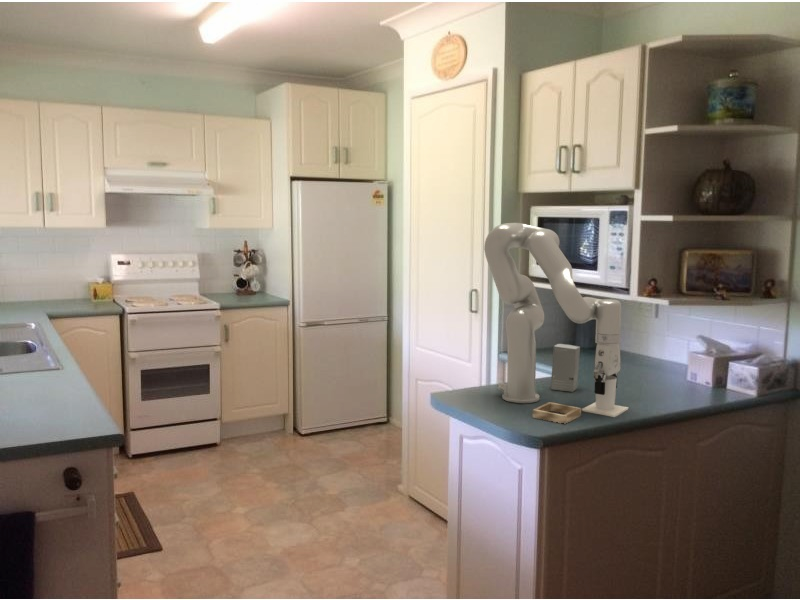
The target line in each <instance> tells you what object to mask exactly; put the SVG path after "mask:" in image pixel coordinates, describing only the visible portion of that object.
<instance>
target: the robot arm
mask: <svg viewBox="0 0 800 600" xmlns="http://www.w3.org/2000/svg"><path fill="white" fill-rule="evenodd" d="M483 248H484V255H485V258H486V261H487V263H488V266H489V269H490V271H491V275H492V278H493V281H494V284H495V286H496V290H497V292H498V293H497V294H498V295H499V298H500V300H501V301H502V302H503V303H505V304H506V305H510V306H511V305H513V308H514V309H512V310H511V311H510V312H509V313H508V315H507V317H506V320H505V330H506V338H507V339H506V341H507V349H506V350H507V362H506V363H507V364H506V365H507V367H506V370H507V372H506V383H504V382H499V383H498V384H497V390H501V391H503V392H502V394H501V395H502V396H501V397H502V399H503V400H505V402H506V401H507V402H509V403H514V404H533V403H536V402H538V401H540V397H541V396H540V395H539V394H538V393H537V392H536V376H537V375H536V371H537V370H536V369H537V363H536V362H537V342H536V336H535V334H536V333H535V331H537V330H539V329H540V328H541V327H542V326H543V324H544V321H545V312H544V309H543V305H542V304H541V301H540V297H539V294H538V292H537V289H536V286H535V284H534V283H533V281H532V280H531V278H530V277H528V276H527V275H524V274H520V272H519V271H518V268H517V265H516V261H515V260H514V258H513V257H512V254H511V252H510V249H515V248H518V249H523V250H527V251H529V253H530V254H531V256H532V257H533V259H534V261H536V263H537V264H538V266H539V267H540V269H541V271H542V272H543V274H544V275H545V276H546V278H547V279H548V281H549V285H550V288H551V290H552V292H553V296H554V298H555V299H556V301H557V303H558V304H559V306H560V308H561V309H562V311H563V312H564V314H565V315H566V316H567V317H568V319H569V320H570V321H572V322H573V323H576V324H579V325H580V324H585V323H587V322H589V321H591V320H595V344H596V348H595V356H594V358H595V359H594V369H593V378H594V381H593V382H594V394H595V395H596V394H600V395H604V394H605V382H604V380H605V377H606V375H607V376H611V375H612V376H615V377H617V378H618V376H619V372H620V370H621V346H620V343H621V327H622V326H621V325H622V324H621V323H622V320H621V318H622V303H621V301H620V300H617V299H611V298H609V299H608V298H606V299H605V298H604V299H601V298H595V297H591V296H582V294H581V293H580V291H579V289H578V288H577V286H576V284H575V282H574V279H573V267H572V265H571V263H570V262H569V260H568V259H567V258H566V256H565V254H564V253H563V252H562V250H561V248H560V238H559V235H558V234H557V233H556V232H555V231H554V230H552V229H549V228H544V227H539V226H535V225H529V224H526V223H521V222H508V223H506V222H505V223H501V224H498V225H497V226H494V227H493V228H492V230H490V232H489V233H488V234H487V236H486V238H485V241H484V247H483ZM600 375H601V376H602V378H601V376H600ZM617 388H618V381H617V382H616V389H617Z"/></svg>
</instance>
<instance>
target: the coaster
mask: <svg viewBox="0 0 800 600" xmlns="http://www.w3.org/2000/svg"><path fill="white" fill-rule="evenodd" d="M628 410H629V406H623V405H618V404H615V405H614V409H612V410H602V409H598V408H596V401H595V402H593V403H591V404H589V405H587V406H585V407H583V408H581V412H586V413H589V414H590V413H591V414H596V415H601V416H606V417H612V418H616V417H618V416H620V415H621V414H623V413H625V412H626V411H628Z"/></svg>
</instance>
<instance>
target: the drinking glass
mask: <svg viewBox="0 0 800 600" xmlns="http://www.w3.org/2000/svg"><path fill="white" fill-rule="evenodd" d="M600 376H601V375H600ZM601 378H602V376H601ZM604 382H605V394H604V395H600V394H595V402H596V408H598V409H602V410H612V409H614V405H616V404H615V403H616V393H617V388H616V382H617V383H618V376H617V377H615V376H612V375H611V376H607V375H606V377H605V380H604Z"/></svg>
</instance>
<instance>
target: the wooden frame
mask: <svg viewBox="0 0 800 600" xmlns="http://www.w3.org/2000/svg"><path fill="white" fill-rule="evenodd" d="M559 412H560V413H561V414H560V413H559ZM581 416H582V408H581V407H579V406H578V407H577V406H572V405H566V404H563V403H556V402H552V401H547V402H546V403H544V404H542V405H540V406H538V407H536V408H534V409H532V418H534V419H538V420H542V419H543V421H547V420H548V422H551V421H553V422H552V423H556V422H558V423H557V424H561V423H564V424H563V425H566V423H567V424H569V423H570V422H572V421H574V420H575V419H578V418H580V417H581ZM568 422H569V423H568Z"/></svg>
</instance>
